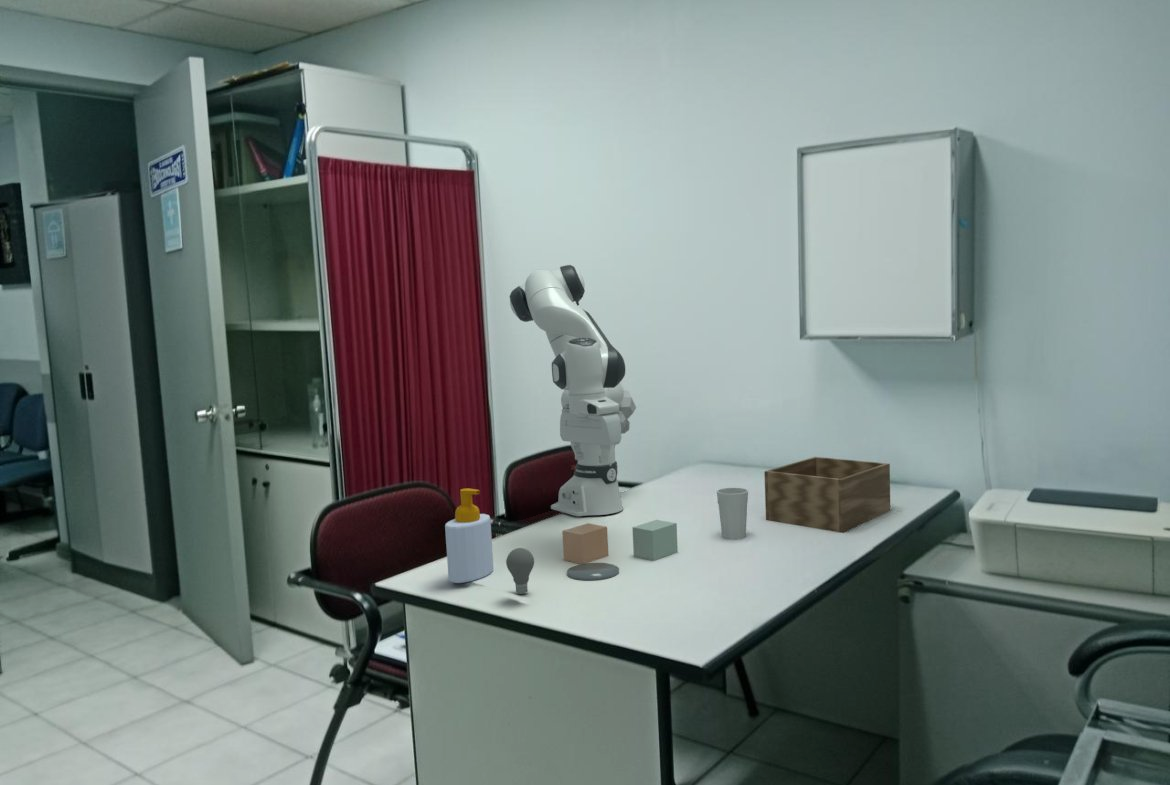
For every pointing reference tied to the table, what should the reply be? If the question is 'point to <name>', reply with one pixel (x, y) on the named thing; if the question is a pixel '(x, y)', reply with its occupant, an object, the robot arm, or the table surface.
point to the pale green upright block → (655, 539)
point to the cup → (733, 512)
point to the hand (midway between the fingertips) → (591, 461)
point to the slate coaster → (592, 571)
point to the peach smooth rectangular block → (585, 543)
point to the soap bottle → (468, 542)
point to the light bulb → (520, 568)
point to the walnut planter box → (827, 493)
